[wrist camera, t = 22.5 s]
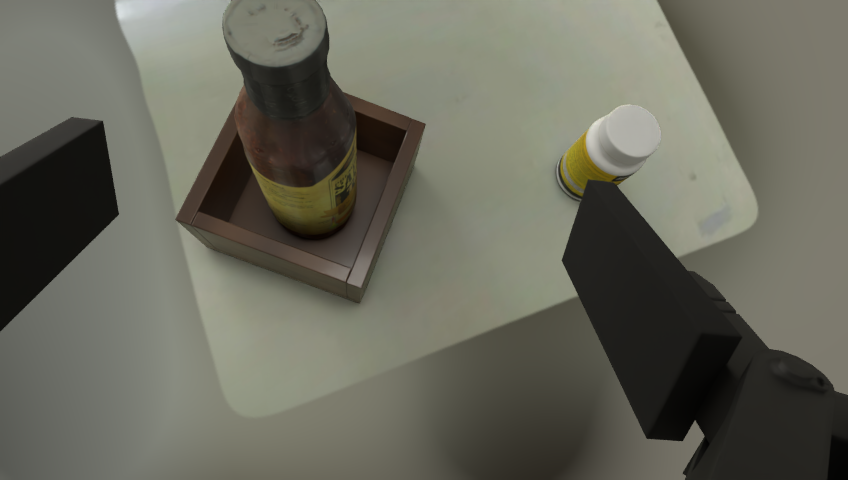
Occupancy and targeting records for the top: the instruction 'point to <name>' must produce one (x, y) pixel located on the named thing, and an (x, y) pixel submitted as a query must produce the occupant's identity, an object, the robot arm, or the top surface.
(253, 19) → the sauce bottle
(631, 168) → the supplement bottle
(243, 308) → the top surface
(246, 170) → the open wooden crate
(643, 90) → the top surface
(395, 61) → the top surface
